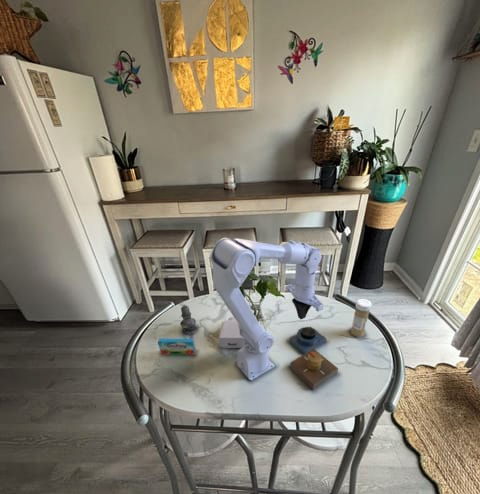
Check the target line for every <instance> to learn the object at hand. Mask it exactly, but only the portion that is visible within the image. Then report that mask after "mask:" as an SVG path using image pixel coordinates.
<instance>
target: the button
mask: <svg viewBox="0 0 480 494" xmlns="http://www.w3.org/2000/svg"><path fill="white" fill-rule="evenodd" d="M311 327H312V326H305V328H303V327H302V328H303V329H302V333H301V335H302V337H303V338H304V339H313V338H314V337H315V330H316V329H315V328H314V327H312V328H311ZM313 328H314V329H315V330H314V329H313Z"/></svg>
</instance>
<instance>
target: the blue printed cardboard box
mask: <svg viewBox="0 0 480 494" xmlns="http://www.w3.org/2000/svg"><path fill="white" fill-rule="evenodd" d="M157 345H158V349H159V352H160V355H162V356H163V355H165V356H167V355H168V356H196V353H197V349H196V343H195V340H194V339H193V338H165V337H164V338H162V337H160V338H159V339H158V340H157Z"/></svg>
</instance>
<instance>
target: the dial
mask: <svg viewBox="0 0 480 494" xmlns="http://www.w3.org/2000/svg"><path fill="white" fill-rule="evenodd" d="M319 353H320V352H318V353H316V352H310V353H309V354H308V360H307V366H308V368H309V369H311V370H319V369H320V367H321V360H322V357H321V355H322V354H321V353H320V354H321V355H320V354H319Z"/></svg>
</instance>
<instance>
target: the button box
mask: <svg viewBox="0 0 480 494" xmlns="http://www.w3.org/2000/svg"><path fill="white" fill-rule="evenodd" d="M305 327H306V326H305ZM305 327H304V326H303V327H301V328H299V329H298V330H297V332H296V334H294V335H292V336H290V337H288V338H289V339H288V342H289V343H290V344H291V345H292V346H294V347H295V348H296V349H297V350H298V351H300V352H301V353H302V355H304V354H306V353H307V352H309V351H311V350H312V349H316V348H318V347H319V346H321V345H323V344H324V343H326V342H327V337H326V336H324V335H323V334H322V333H320V332H319V331H318V330H316V329H315V328H314V327H312V326H310V327H311V328H313V329H314V330H315V337H314V338H313V339H304V338H303V337H302V335H301V333H302V329H303V328H305Z"/></svg>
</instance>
